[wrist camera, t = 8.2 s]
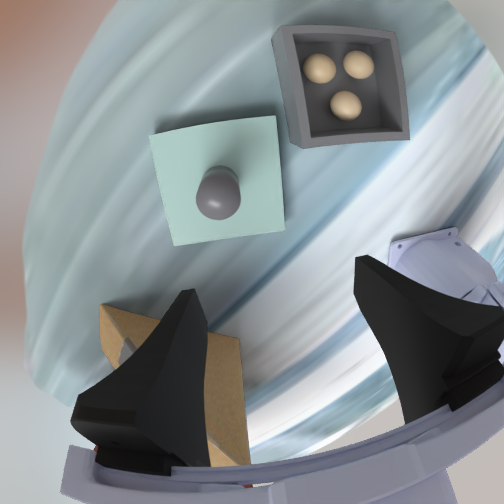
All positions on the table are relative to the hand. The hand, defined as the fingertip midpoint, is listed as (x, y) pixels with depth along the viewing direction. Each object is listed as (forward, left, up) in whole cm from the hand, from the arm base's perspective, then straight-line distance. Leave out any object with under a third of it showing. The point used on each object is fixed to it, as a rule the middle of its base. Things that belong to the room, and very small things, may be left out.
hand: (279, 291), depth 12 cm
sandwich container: (+13, +13, -11) cm, 21 cm away
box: (-7, -9, -10) cm, 15 cm away
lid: (+2, -3, -10) cm, 11 cm away
